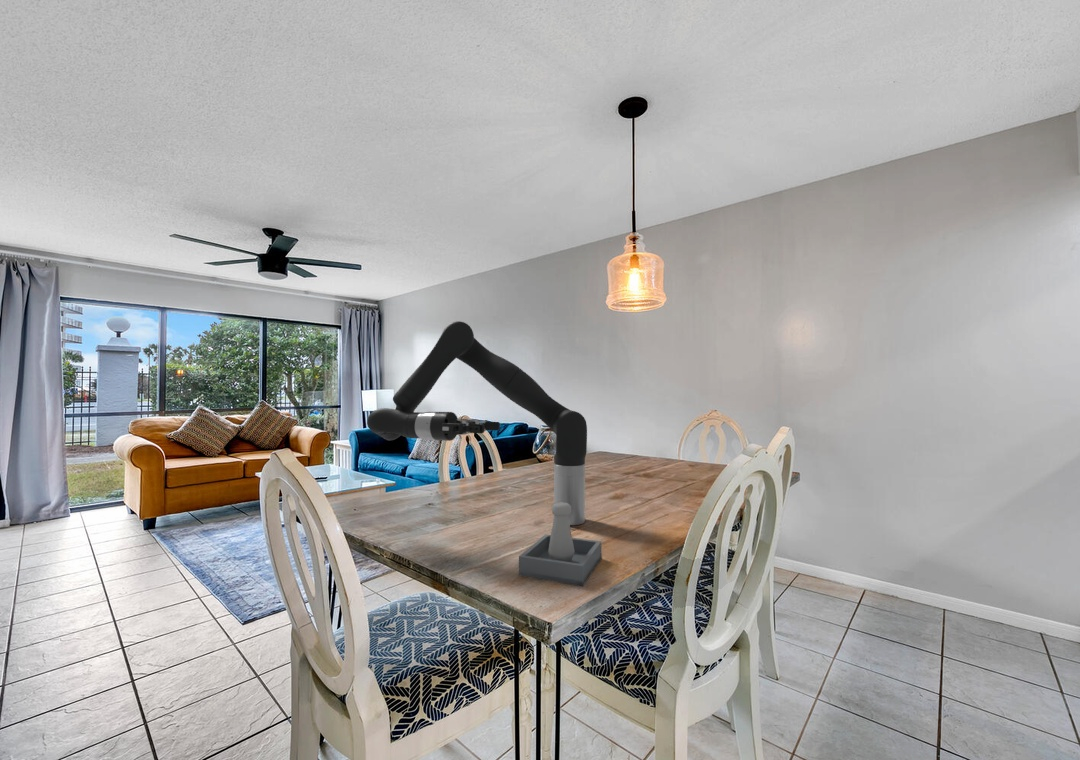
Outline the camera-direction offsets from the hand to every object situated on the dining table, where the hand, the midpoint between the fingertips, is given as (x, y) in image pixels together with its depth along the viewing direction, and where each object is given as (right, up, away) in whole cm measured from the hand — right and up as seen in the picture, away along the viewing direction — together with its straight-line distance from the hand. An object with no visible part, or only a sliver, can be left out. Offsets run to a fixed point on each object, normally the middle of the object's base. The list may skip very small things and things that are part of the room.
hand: (491, 427), depth 113 cm
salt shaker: (+17, -29, -14) cm, 36 cm away
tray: (+17, -30, -14) cm, 37 cm away
